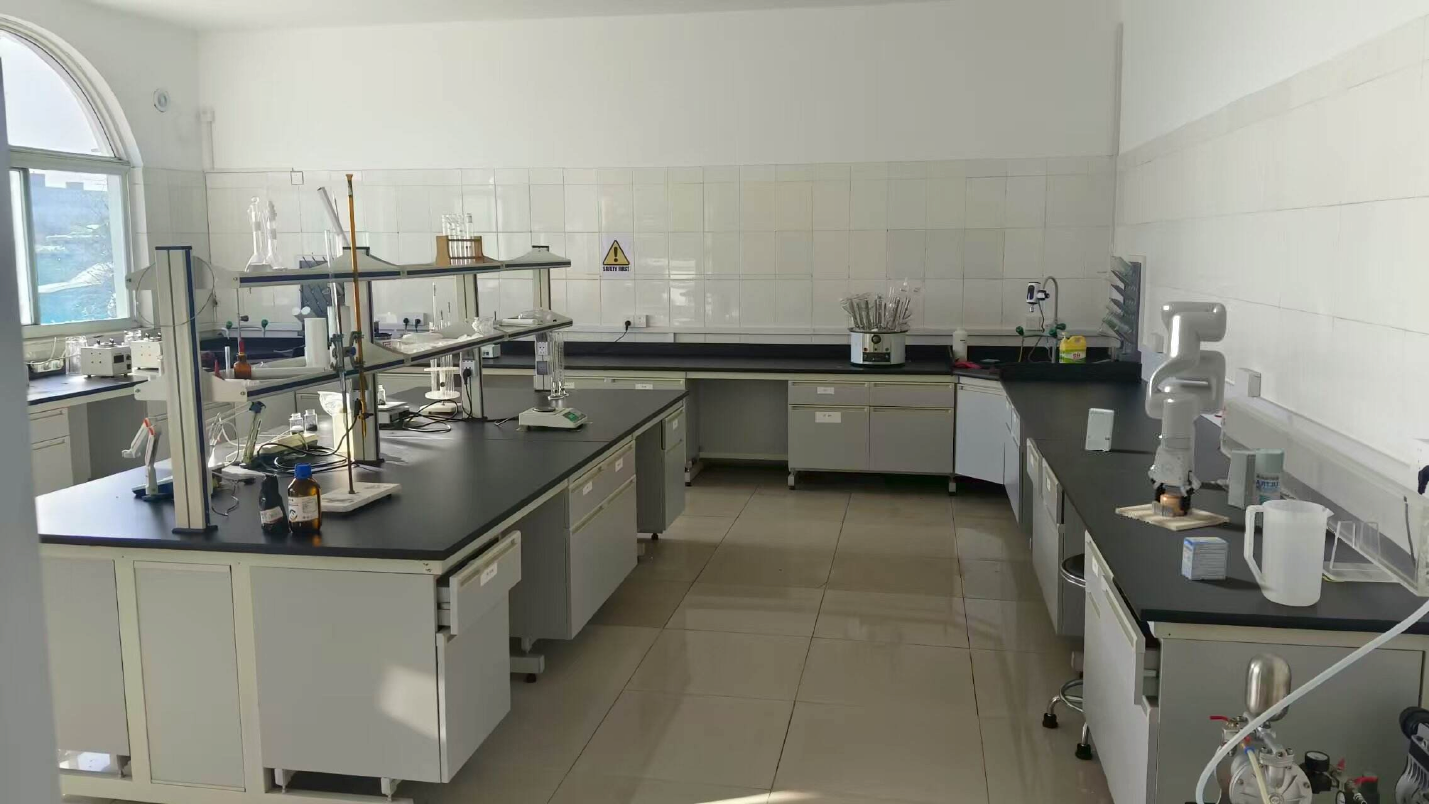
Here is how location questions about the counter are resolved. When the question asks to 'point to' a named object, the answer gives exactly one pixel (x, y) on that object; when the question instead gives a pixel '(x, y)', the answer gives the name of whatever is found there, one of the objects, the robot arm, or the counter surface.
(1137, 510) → the barrel mount
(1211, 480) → the counter surface
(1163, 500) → the tan round jar
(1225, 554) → the medicine box
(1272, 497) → the spray paint can
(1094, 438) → the skincare box
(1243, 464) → the skincare box
